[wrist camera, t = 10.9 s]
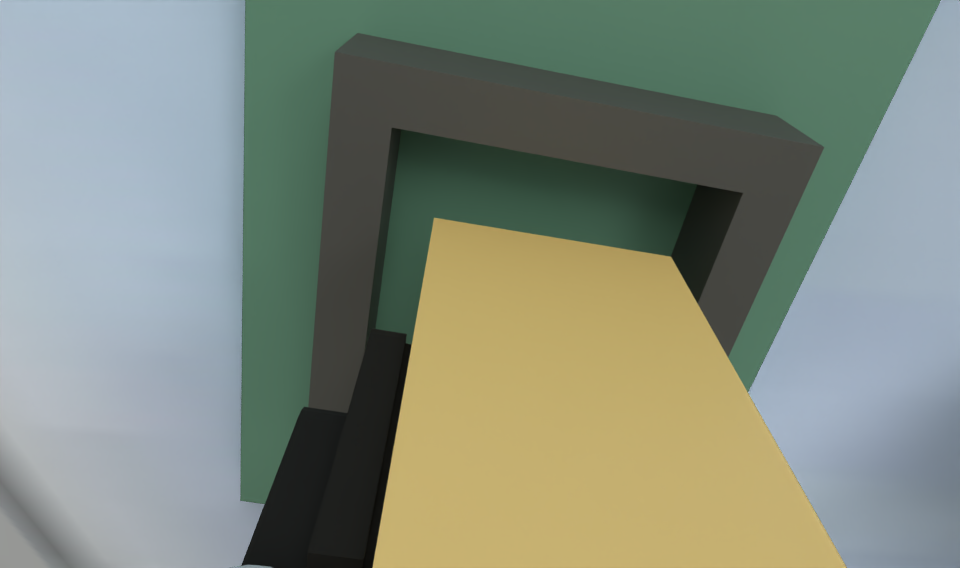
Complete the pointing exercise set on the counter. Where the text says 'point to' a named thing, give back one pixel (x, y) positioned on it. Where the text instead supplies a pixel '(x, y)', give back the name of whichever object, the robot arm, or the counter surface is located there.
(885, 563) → the counter surface
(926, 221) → the counter surface
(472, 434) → the keyed plug
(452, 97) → the header board
